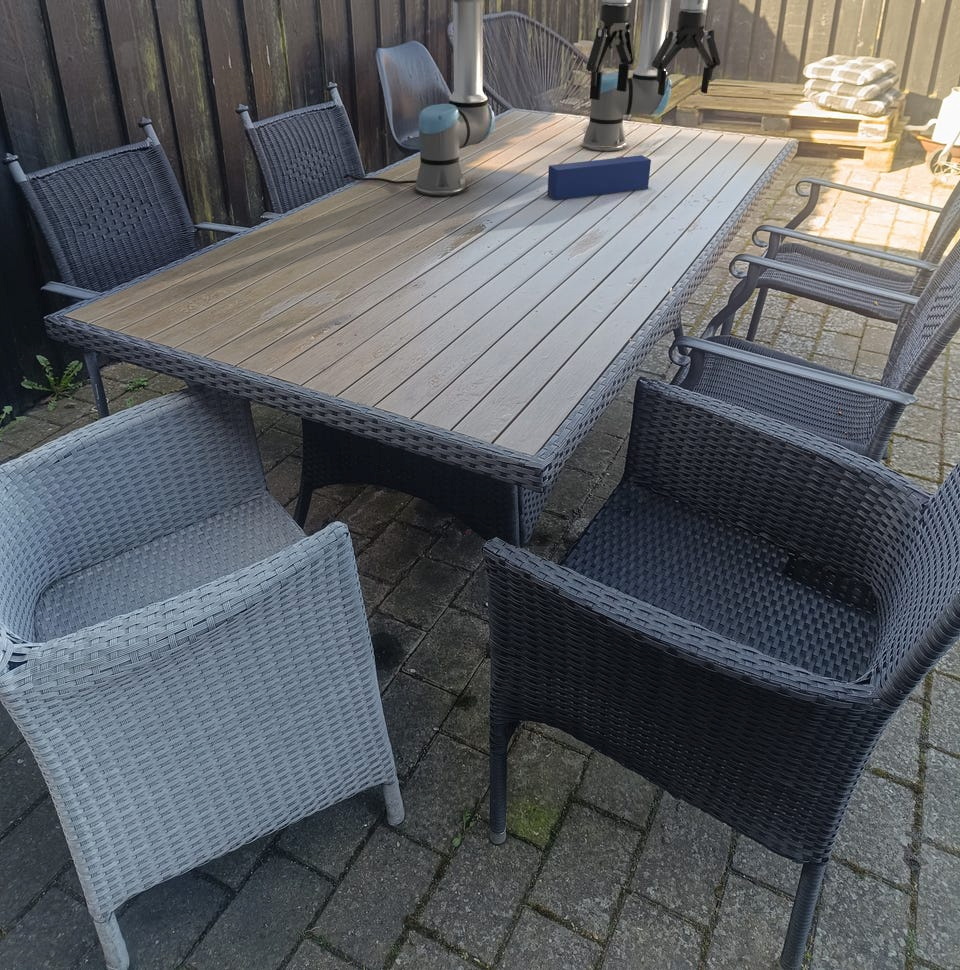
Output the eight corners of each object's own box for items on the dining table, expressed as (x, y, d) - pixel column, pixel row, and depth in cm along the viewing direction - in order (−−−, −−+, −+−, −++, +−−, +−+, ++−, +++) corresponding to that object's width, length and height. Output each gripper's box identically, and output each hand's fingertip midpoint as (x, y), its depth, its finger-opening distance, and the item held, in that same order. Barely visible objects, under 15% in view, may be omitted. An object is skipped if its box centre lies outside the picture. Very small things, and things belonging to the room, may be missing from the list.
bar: (555, 200, 250) (556, 170, 245) (547, 194, 254) (548, 165, 249) (647, 188, 259) (651, 159, 254) (638, 183, 264) (641, 155, 259)
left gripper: (602, 10, 202) (595, 104, 215) (654, 0, 218) (644, 89, 230) (576, 7, 206) (570, 100, 218) (629, -2, 222) (620, 85, 234)
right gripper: (656, 13, 228) (647, 98, 241) (740, 10, 233) (727, 94, 245) (645, 10, 234) (637, 93, 247) (727, 7, 239) (715, 89, 251)
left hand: (608, 95), depth 224 cm, fingers open, 13 cm apart
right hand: (682, 93), depth 246 cm, fingers open, 13 cm apart
